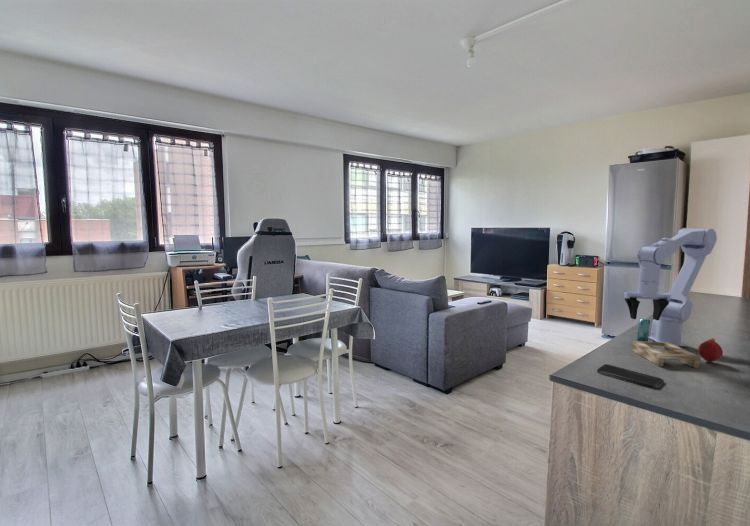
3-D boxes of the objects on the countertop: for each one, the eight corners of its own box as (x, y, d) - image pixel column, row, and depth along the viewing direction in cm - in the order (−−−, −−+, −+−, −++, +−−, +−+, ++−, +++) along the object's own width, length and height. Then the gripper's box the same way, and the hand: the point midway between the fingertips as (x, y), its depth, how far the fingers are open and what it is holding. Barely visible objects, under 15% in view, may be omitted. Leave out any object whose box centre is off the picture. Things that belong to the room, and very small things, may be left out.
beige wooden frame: (631, 350, 134) (632, 341, 133) (668, 352, 133) (669, 342, 132) (658, 366, 120) (659, 355, 119) (699, 367, 119) (700, 357, 118)
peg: (628, 344, 141) (630, 317, 140) (645, 344, 140) (647, 317, 139) (638, 349, 135) (640, 321, 134) (656, 350, 134) (658, 322, 133)
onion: (712, 366, 120) (715, 341, 120) (692, 359, 126) (695, 335, 125) (725, 364, 122) (728, 340, 121) (705, 358, 128) (708, 334, 127)
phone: (657, 387, 103) (596, 369, 114) (657, 391, 103) (595, 373, 114) (665, 379, 108) (605, 363, 119) (664, 383, 108) (605, 367, 119)
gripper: (662, 280, 138) (658, 317, 140) (620, 278, 139) (616, 315, 141) (676, 283, 131) (672, 322, 133) (632, 281, 132) (627, 320, 134)
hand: (644, 319), depth 136 cm, fingers open, 7 cm apart
